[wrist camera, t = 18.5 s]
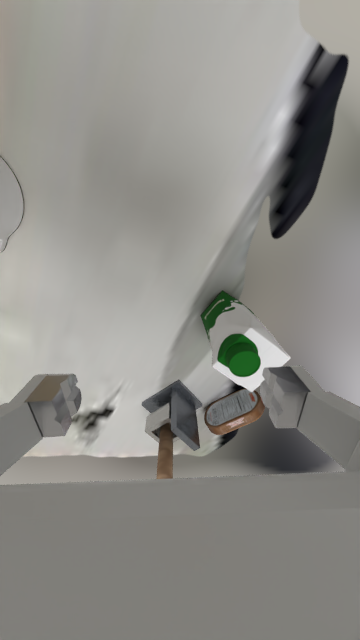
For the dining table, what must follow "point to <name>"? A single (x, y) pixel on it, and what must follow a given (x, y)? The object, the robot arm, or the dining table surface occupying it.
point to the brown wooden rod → (165, 453)
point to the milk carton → (240, 342)
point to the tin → (234, 411)
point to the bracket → (174, 414)
